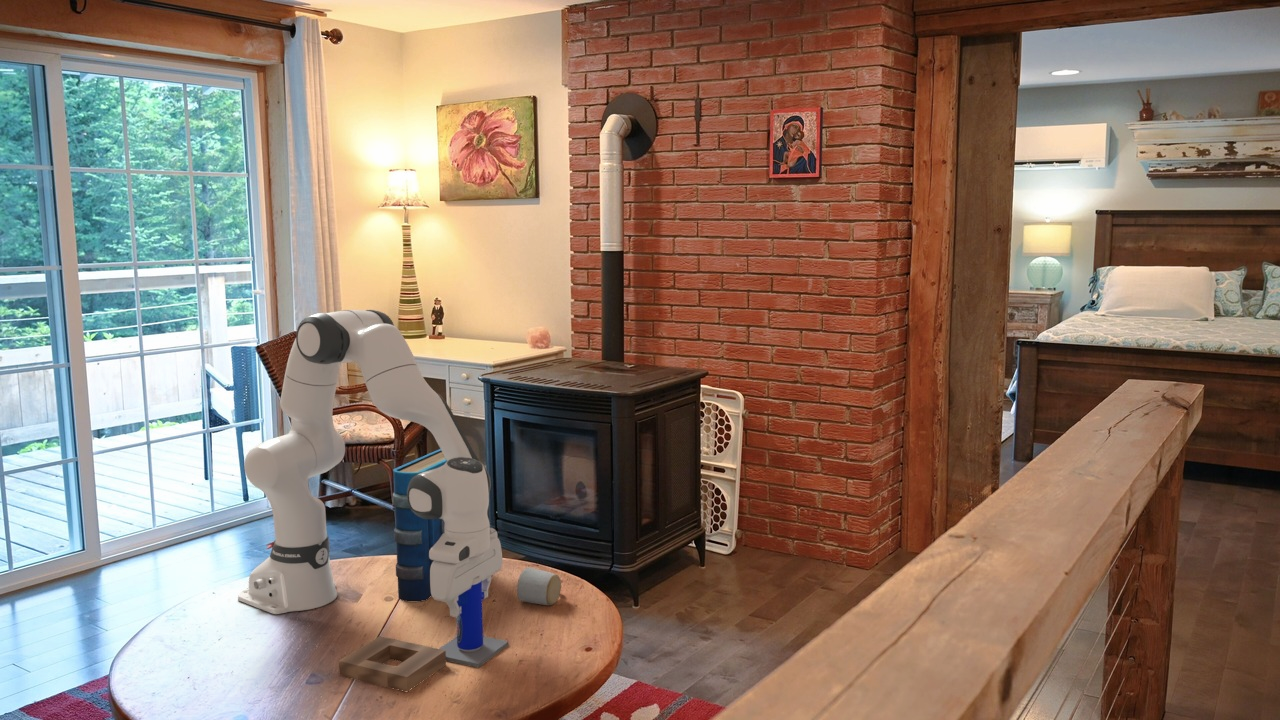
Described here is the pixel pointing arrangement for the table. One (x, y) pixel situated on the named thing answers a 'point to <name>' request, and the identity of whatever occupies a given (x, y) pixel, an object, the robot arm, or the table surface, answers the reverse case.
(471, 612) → the beverage can
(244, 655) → the table surface
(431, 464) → the book
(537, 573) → the ceramic mug
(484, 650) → the rubber mat
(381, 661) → the walnut caddy
